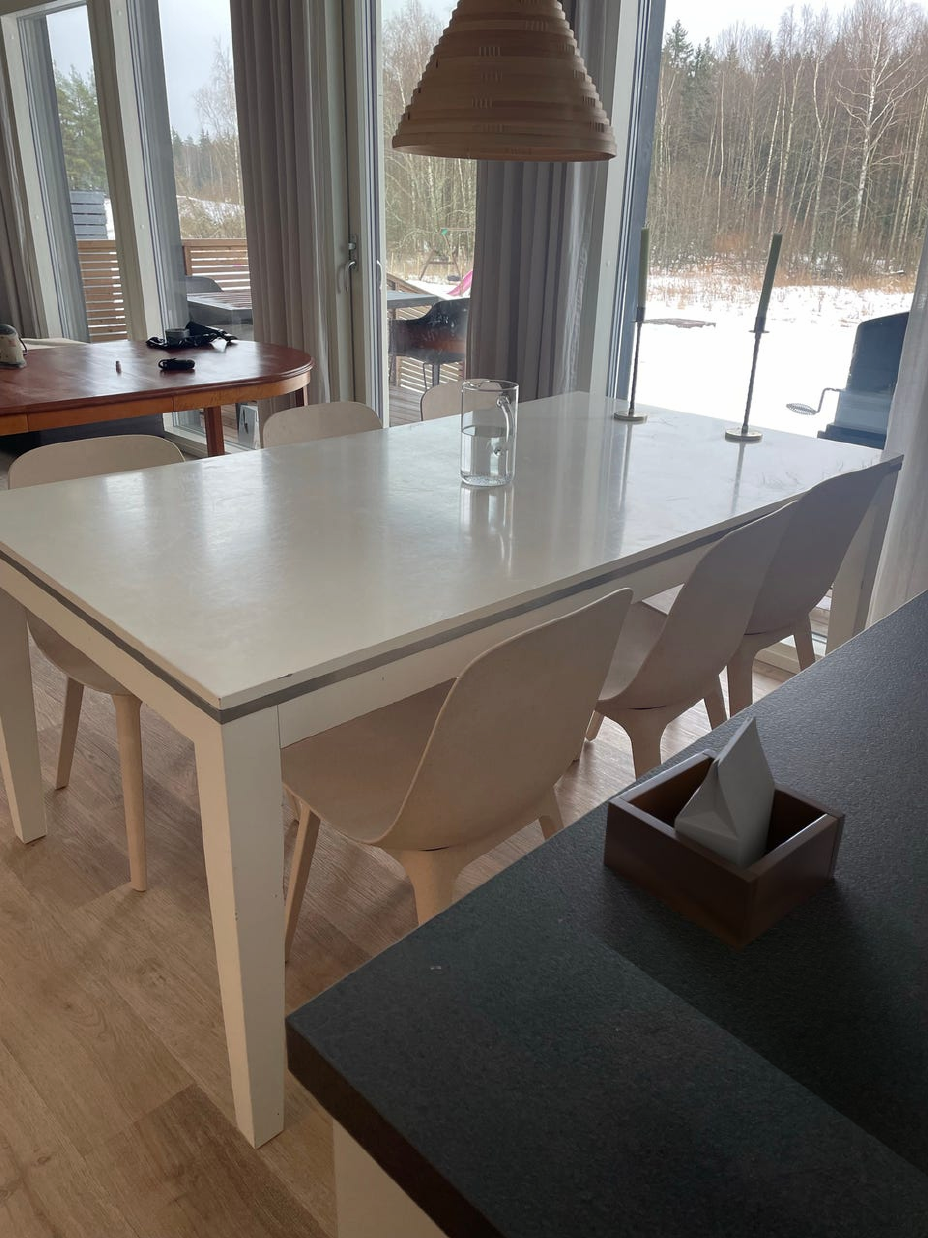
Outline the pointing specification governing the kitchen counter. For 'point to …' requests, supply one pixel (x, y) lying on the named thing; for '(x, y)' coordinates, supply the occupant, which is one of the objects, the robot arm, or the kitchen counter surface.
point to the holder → (708, 880)
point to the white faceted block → (733, 801)
